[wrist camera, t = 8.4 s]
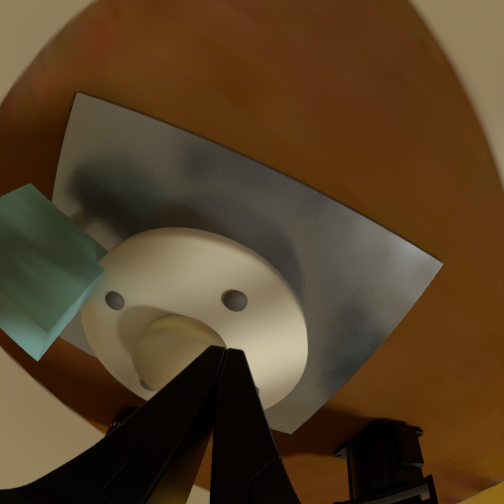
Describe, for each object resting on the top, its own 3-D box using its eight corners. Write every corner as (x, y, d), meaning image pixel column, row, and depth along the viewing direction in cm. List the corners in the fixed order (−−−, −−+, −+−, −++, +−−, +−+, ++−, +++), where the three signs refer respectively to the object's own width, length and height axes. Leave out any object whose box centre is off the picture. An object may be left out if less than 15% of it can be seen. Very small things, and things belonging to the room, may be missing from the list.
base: (291, 428, 24) (289, 489, 18) (47, 322, 22) (8, 370, 16) (439, 259, 16) (487, 321, 11) (83, 91, 14) (5, 97, 8)
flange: (355, 330, 15) (377, 429, 10) (217, 424, 20) (201, 498, 14) (65, 102, 11) (-35, 118, 6) (6, 270, 16) (-52, 321, 11)
